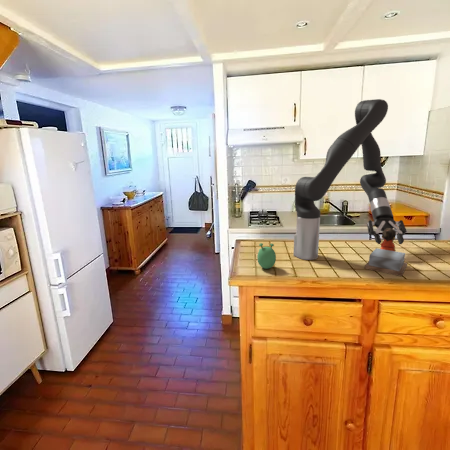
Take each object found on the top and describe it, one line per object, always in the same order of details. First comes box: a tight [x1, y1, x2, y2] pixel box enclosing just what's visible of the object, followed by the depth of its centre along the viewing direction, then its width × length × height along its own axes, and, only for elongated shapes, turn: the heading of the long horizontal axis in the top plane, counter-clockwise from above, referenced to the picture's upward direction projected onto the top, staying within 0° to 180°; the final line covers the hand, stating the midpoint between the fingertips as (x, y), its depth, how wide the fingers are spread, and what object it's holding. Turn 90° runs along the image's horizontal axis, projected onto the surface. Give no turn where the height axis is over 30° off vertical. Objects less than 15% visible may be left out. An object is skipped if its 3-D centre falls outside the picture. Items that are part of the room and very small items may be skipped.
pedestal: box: [364, 247, 408, 277], centre depth 108 cm, size 12×12×5 cm
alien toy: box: [256, 242, 277, 270], centre depth 109 cm, size 7×8×10 cm
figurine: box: [379, 228, 397, 252], centre depth 118 cm, size 6×6×12 cm
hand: (390, 243), depth 116 cm, fingers open, 8 cm apart
